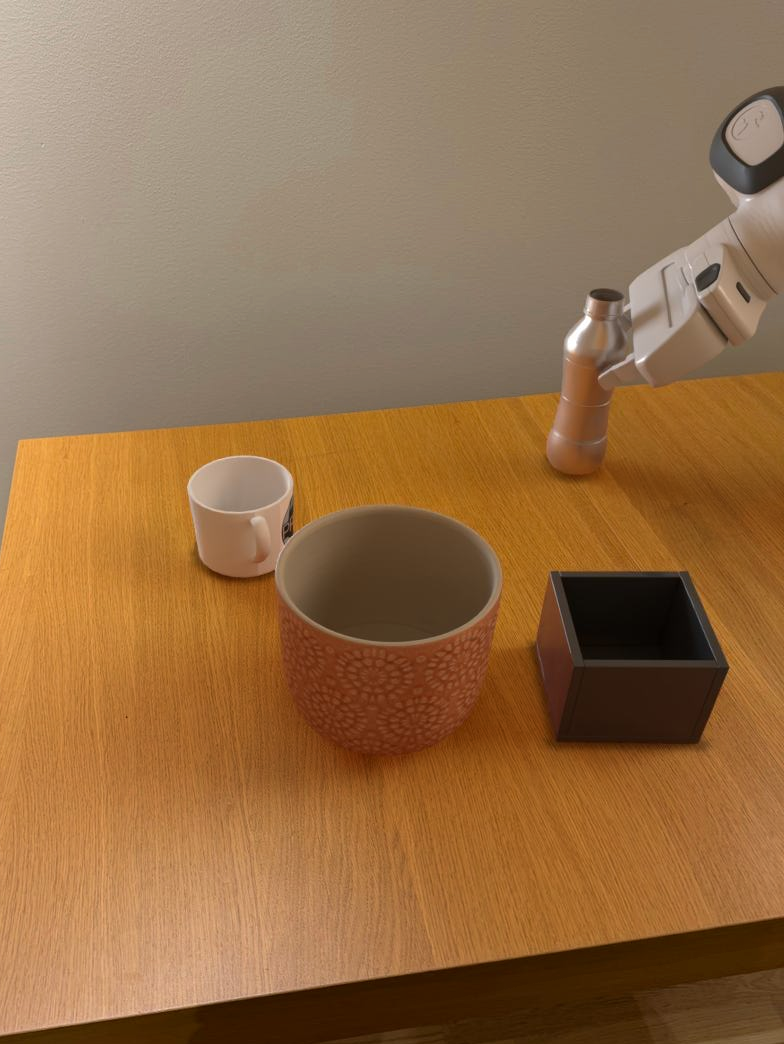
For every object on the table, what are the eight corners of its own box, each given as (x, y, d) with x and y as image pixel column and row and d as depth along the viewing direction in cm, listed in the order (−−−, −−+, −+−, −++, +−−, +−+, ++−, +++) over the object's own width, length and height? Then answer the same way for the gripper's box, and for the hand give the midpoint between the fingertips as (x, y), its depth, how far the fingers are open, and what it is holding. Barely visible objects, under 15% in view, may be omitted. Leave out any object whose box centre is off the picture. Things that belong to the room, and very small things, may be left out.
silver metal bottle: (584, 489, 102) (621, 314, 89) (531, 467, 106) (560, 296, 92) (612, 465, 106) (653, 293, 92) (561, 445, 109) (593, 277, 96)
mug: (185, 531, 98) (176, 466, 93) (279, 511, 101) (276, 447, 95) (216, 608, 89) (208, 541, 84) (318, 585, 91) (317, 518, 86)
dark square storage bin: (663, 646, 84) (688, 570, 78) (698, 743, 75) (729, 667, 69) (534, 646, 84) (549, 570, 78) (555, 742, 76) (574, 666, 70)
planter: (443, 627, 86) (458, 490, 76) (511, 764, 74) (540, 623, 64) (266, 656, 84) (256, 520, 74) (306, 803, 72) (300, 664, 61)
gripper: (697, 213, 95) (583, 299, 104) (717, 293, 81) (582, 386, 89) (730, 259, 98) (615, 340, 106) (755, 345, 83) (620, 431, 92)
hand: (600, 362), depth 98 cm, fingers open, 8 cm apart
